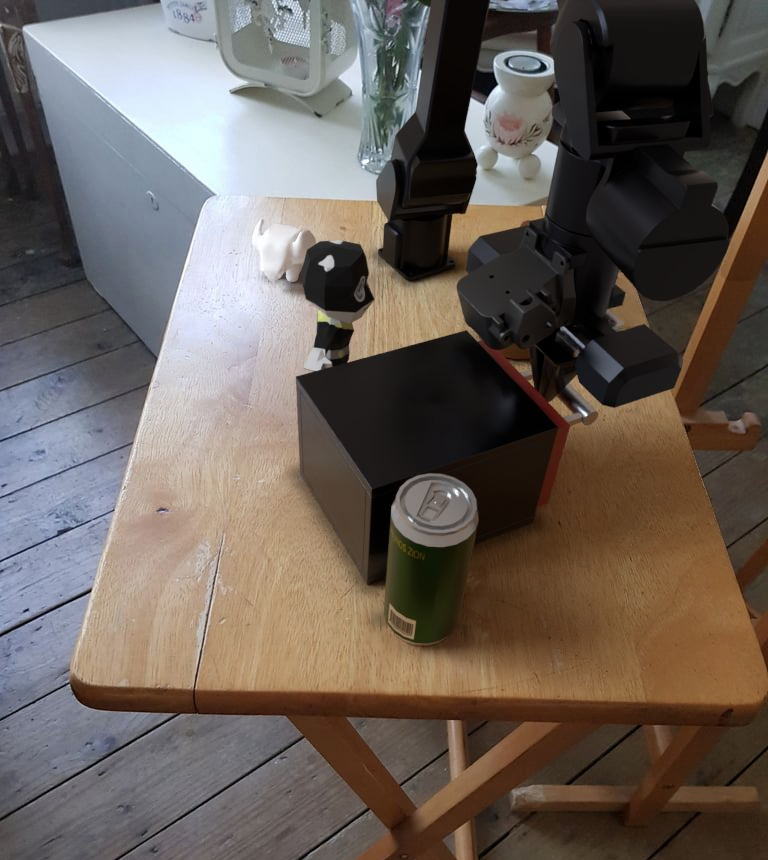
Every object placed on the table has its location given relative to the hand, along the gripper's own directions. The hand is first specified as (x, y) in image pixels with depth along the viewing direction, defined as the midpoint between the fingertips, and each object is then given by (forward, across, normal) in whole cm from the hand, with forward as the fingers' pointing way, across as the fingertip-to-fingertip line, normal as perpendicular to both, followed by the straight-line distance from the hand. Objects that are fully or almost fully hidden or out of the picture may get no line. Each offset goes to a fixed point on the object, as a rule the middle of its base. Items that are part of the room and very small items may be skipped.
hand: (543, 400), depth 65 cm
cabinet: (+6, 0, -11) cm, 13 cm away
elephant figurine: (+7, -34, -8) cm, 36 cm away
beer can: (+6, +11, -16) cm, 21 cm away
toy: (+7, -14, -12) cm, 19 cm away
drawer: (+6, 0, -7) cm, 9 cm away
